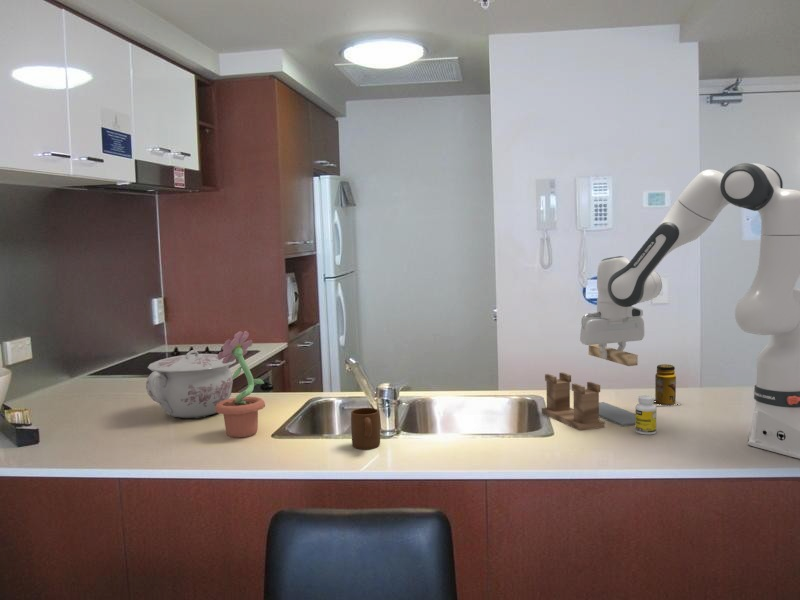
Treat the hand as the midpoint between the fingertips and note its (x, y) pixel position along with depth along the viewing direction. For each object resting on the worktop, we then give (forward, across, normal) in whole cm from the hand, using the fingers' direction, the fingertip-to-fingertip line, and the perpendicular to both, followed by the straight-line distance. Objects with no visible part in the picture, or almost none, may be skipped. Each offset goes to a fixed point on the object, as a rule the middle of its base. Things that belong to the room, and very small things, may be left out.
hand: (612, 357), depth 213 cm
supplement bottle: (+17, -3, -20) cm, 26 cm away
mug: (+18, -77, -2) cm, 79 cm away
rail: (-1, 0, 0) cm, 1 cm away
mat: (+17, 0, 0) cm, 17 cm away
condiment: (+18, +22, +5) cm, 29 cm away
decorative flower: (+18, -106, +26) cm, 110 cm away
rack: (+17, -14, 0) cm, 22 cm away
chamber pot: (+18, -118, +57) cm, 132 cm away
